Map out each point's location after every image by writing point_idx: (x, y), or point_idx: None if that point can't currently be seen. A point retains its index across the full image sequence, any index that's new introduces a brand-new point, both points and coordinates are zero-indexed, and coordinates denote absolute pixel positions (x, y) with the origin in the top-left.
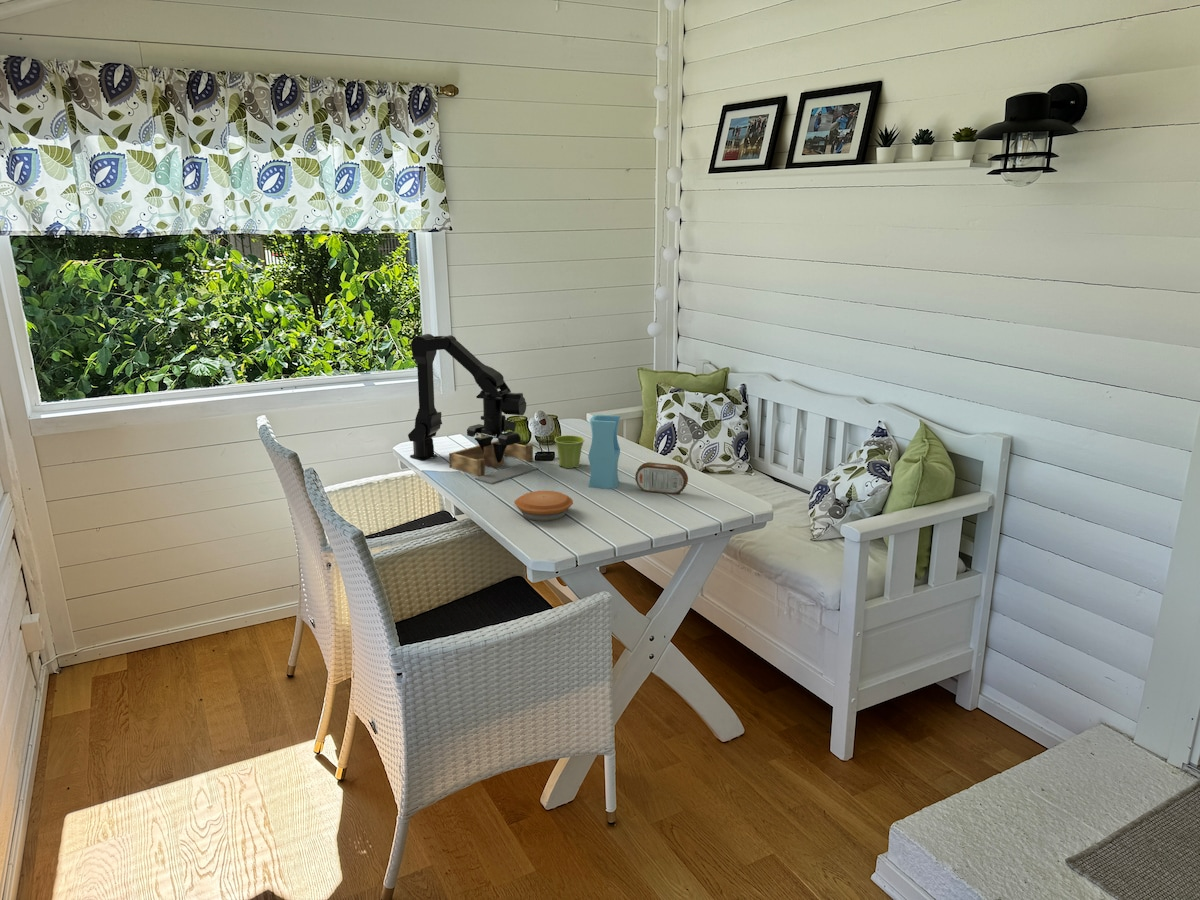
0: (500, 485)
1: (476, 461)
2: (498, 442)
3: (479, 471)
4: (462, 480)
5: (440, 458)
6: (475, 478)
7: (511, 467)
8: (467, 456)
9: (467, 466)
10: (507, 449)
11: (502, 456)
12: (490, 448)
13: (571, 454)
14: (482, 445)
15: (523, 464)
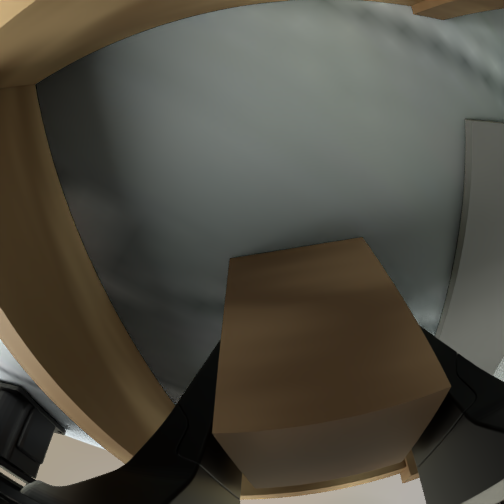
0: (501, 378)
1: (389, 475)
2: (476, 498)
3: None
4: None
5: (42, 393)
6: None
7: (471, 257)
8: (153, 426)
9: None
10: (79, 30)
11: (421, 329)
12: (358, 473)
13: None
14: (238, 498)
15: (495, 139)
